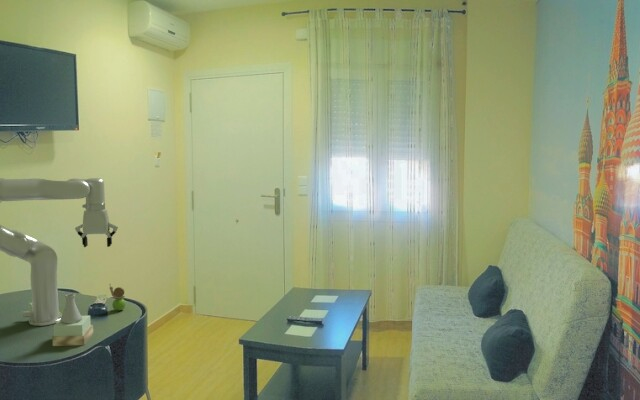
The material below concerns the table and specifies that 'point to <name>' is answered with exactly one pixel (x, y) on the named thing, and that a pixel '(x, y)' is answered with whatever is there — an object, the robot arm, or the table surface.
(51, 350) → the table surface
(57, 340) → the tower base block
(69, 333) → the tower top block
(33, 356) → the table surface
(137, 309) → the table surface
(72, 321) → the flask
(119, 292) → the snail figurine
